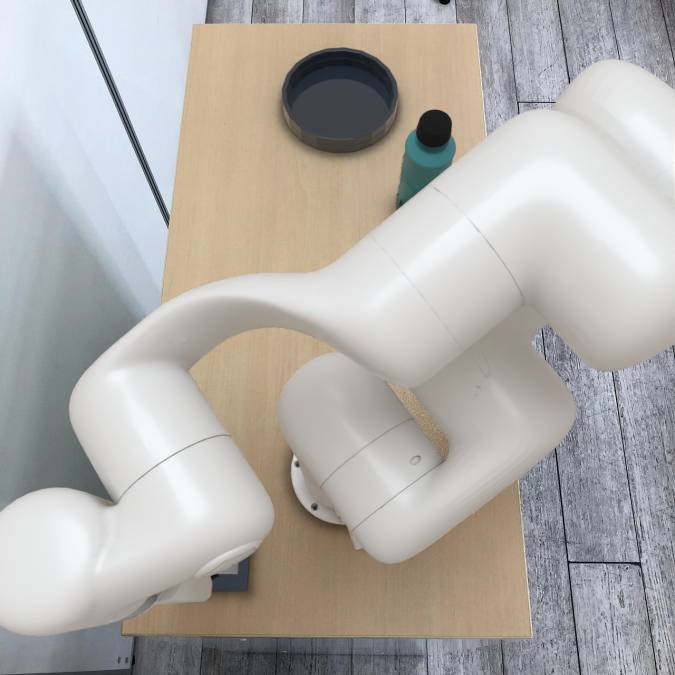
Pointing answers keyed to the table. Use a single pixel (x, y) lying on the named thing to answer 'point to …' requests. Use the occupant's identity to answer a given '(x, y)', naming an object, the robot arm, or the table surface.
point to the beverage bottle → (425, 154)
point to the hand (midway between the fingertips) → (176, 568)
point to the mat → (233, 579)
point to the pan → (339, 99)
